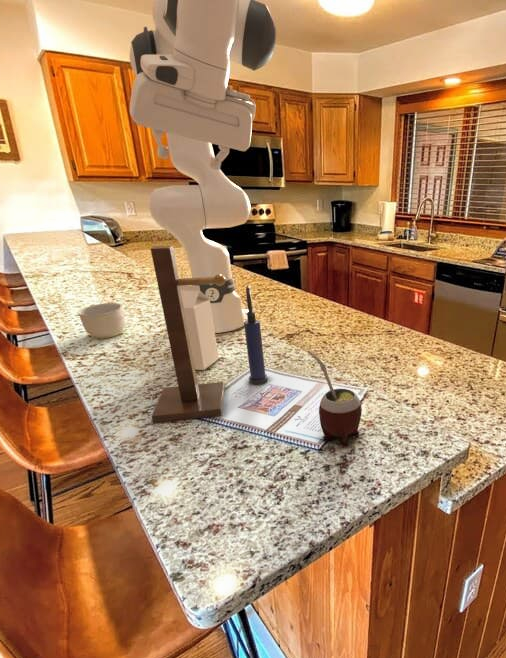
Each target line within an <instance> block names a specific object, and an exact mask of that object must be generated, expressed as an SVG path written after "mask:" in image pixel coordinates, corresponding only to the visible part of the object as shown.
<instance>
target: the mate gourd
mask: <svg viewBox="0 0 506 658" xmlns="http://www.w3.org/2000/svg"><path fill="white" fill-rule="evenodd" d="M307 353H308V354H309V355H310V356H311V357H312V358H313V359H314V360H316V362H317V363H318V364H319V367H320V369H321V371H322V372H323V375H324V378H325V380H326V382H327V385H328V388H329V390H327V392H325V393H324V395H322V397H321V400H320V402H319V407H318V415H319V416H318V417H319V422H320V428H321V431H322V433H323V435H322V440H323V441H324V442H325V441H326V442H327V441H333V440H339V441H340V443H341V446H342V447H343V448H345V447H346V448H347V447H348V446H349V443H348V438H349V437H357V436H360V435H359V434H360V431H359V430H358V429H359V427H360V423H361V419H362V415H363V414H362V413H363V409H362V407H363V406H362V403H361V400H360V398H359V397H358V395H357V393H355V392H354V391H353V390H351V389H347V388H334V387H333V384H332V381H331V380H330V376H329V374H328V371H327V366H326V365H325V363H323V361H322V360H321V359H320V357H318V356H317V355H316V354H315V353H313V352H312V351H311V350H310V349H308V350H307Z"/></svg>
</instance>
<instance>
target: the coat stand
mask: <svg viewBox="0 0 506 658" xmlns="http://www.w3.org/2000/svg"><path fill="white" fill-rule="evenodd" d="M150 252H151V253H150V254H151V258H152V263H153V269H154V272H155V278H156V282H157V288H158V293H159V298H160V303H161V308H162V313H163V318H164V322H165V323H164V324H165V327H166V333H167V338H168V342H169V346H170V351H171V356H172V361H173V367H174V371H175V377H176V382H177V386H176V385H175V386H167V387H163V388H162V391H161V393H160V396H159V397H158V400H157V402H156V405H155V407H154V410H153V412H152V415H151V419H152V420H151V421H152V423H153V424H159V423H169V422H178V421H187V420H195V419H196V420H197V419H203V418H205V419H206V418H213V417H221V416H222V415H223V407H224V401H225V394H226V393H225V392H226V384H225V381H218V382H209V383H198V378H197V371H196V370H195V366H194V360H193V355H192V349H191V344H190V338H189V333H188V327H187V322H186V316H185V311H184V305H183V300H182V294H181V289H180V286H184V285H203V284H216V285H218V286H222V285H224V283H225V277H224V276H223V275H220V274H218V275H216V276H215V277H203V278H192V277H187V278H180V277H179V273H178V267H177V261H176V256H175V252H174V246H173V245H154V246H152V247H151V248H150Z"/></svg>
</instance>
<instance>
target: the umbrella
mask: <svg viewBox="0 0 506 658" xmlns="http://www.w3.org/2000/svg"><path fill="white" fill-rule="evenodd" d="M245 295H246V305H247V309H248V312H246V315H247V318H248V320H247V321H245V322H244V326H243V327H244V334H245V341H246V350H247V358H248V359H247V360H248V367H249V376H248V382H249V383H250V384H251V385H257V386H258V385H263V384H266V383H267V382H268V381H269V377H268V374H267V373H266V367H265V366H266V365H265V356H264V347H263V338H262V329H261V321H260V320H259V319H256V312H255V311H254V307H253V298H252V290H251V286H250V285H246V286H245Z"/></svg>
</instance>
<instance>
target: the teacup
mask: <svg viewBox="0 0 506 658" xmlns="http://www.w3.org/2000/svg"><path fill="white" fill-rule="evenodd" d="M77 315H78V316H79V318H80V322H81V325H82V326H83V328H84V331H85V332H86V334H87V335H89V336H92V337H94V338H97V339H108V338H112V337H115V336H118V335H120V334H121V333H122V332H123V330H124V329H125V327H126V318H125V314H124V310H123V305H122V303H117V302H105V303H98V304H95V303H93V304H90V305H89V306H87V307H84V308H81V309H80V310H79V311H78V312H77Z"/></svg>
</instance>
